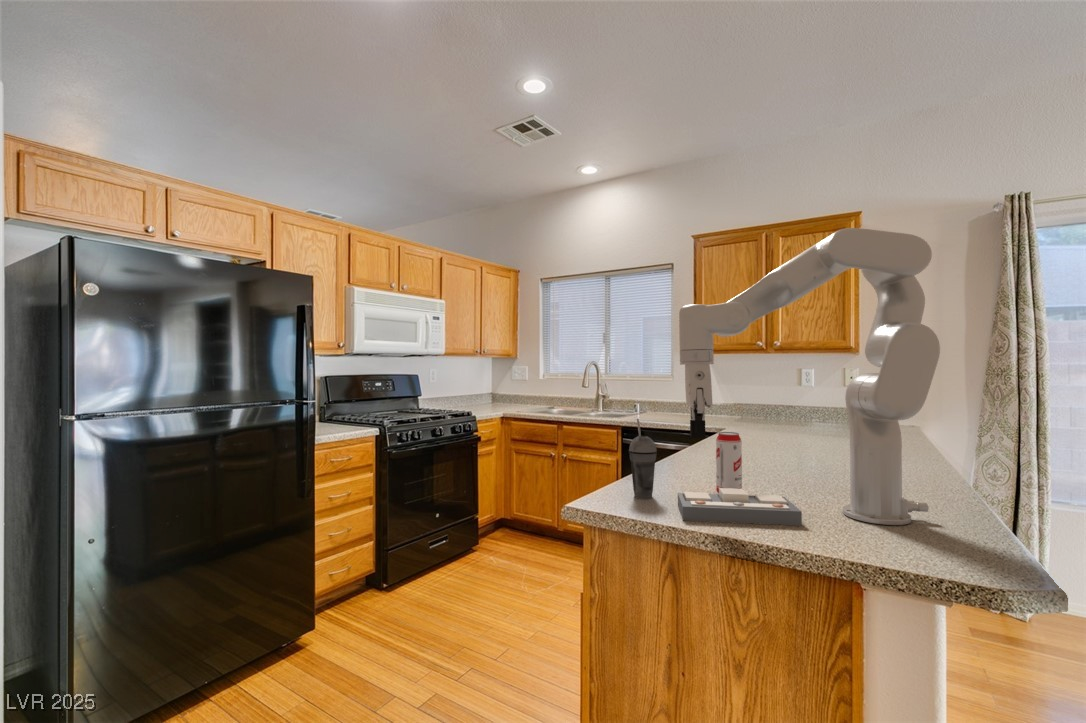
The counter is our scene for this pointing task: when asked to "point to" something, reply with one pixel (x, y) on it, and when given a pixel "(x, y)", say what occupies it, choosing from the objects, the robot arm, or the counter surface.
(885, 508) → the robot arm
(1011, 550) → the counter surface
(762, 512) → the button board
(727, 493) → the middle key
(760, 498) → the key
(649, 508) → the counter surface
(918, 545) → the counter surface
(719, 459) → the beer can
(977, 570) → the counter surface
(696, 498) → the key
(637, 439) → the beverage cup
